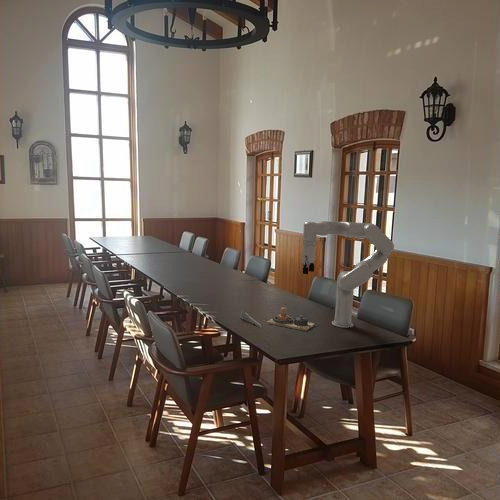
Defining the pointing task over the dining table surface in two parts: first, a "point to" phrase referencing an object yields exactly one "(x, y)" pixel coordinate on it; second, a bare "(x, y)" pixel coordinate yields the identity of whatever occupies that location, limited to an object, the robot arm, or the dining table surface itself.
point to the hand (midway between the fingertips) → (308, 272)
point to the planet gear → (283, 315)
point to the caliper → (245, 315)
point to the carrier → (293, 323)
